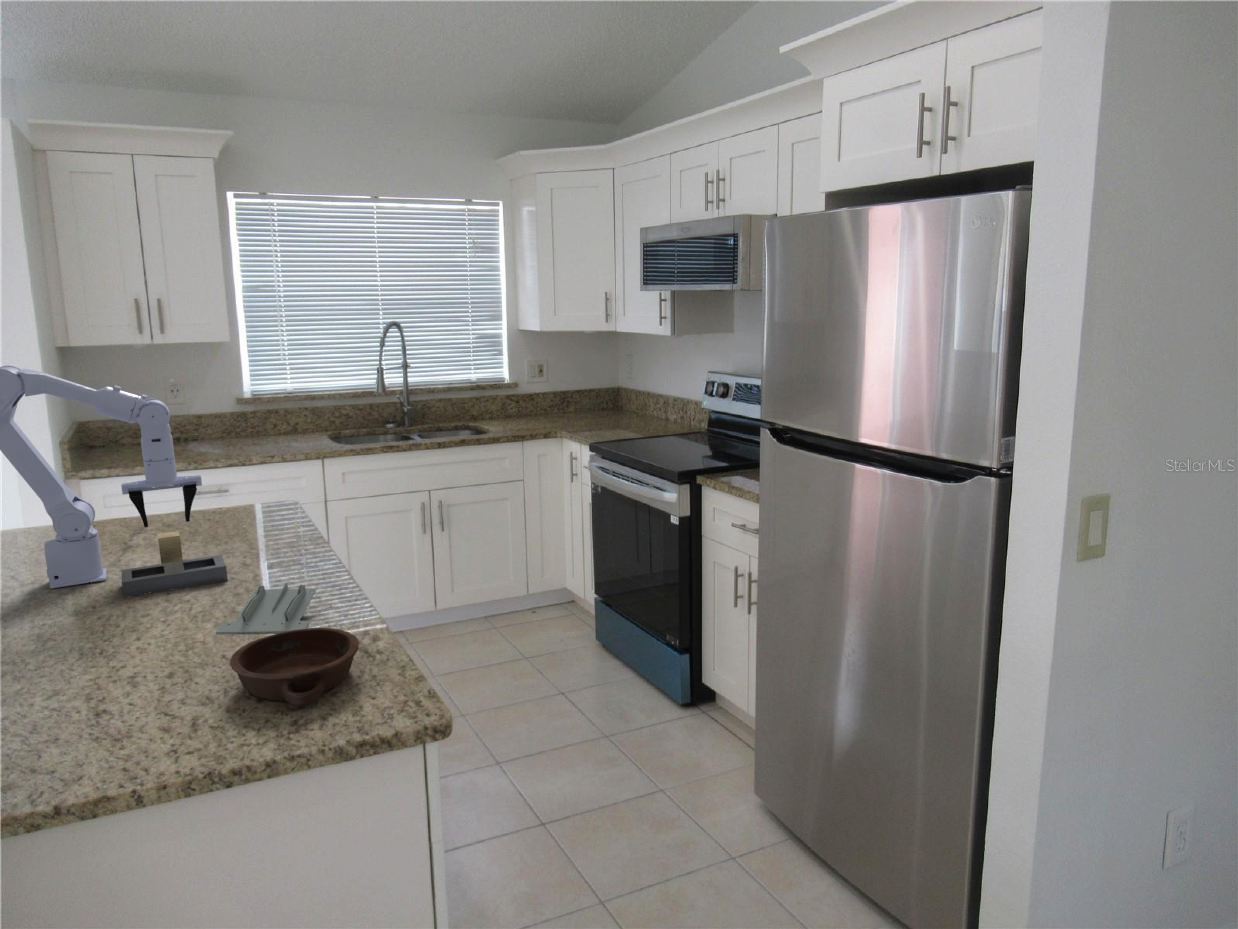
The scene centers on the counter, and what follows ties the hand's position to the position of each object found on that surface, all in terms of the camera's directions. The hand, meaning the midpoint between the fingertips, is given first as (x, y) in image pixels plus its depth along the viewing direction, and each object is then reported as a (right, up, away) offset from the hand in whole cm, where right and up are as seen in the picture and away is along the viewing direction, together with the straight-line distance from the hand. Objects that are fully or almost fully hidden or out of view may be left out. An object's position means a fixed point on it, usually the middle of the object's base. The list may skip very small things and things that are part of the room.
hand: (167, 523), depth 179 cm
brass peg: (0, -9, +2) cm, 9 cm away
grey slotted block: (+6, -11, -8) cm, 15 cm away
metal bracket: (+34, -15, -29) cm, 47 cm away
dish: (+47, -20, -53) cm, 74 cm away
